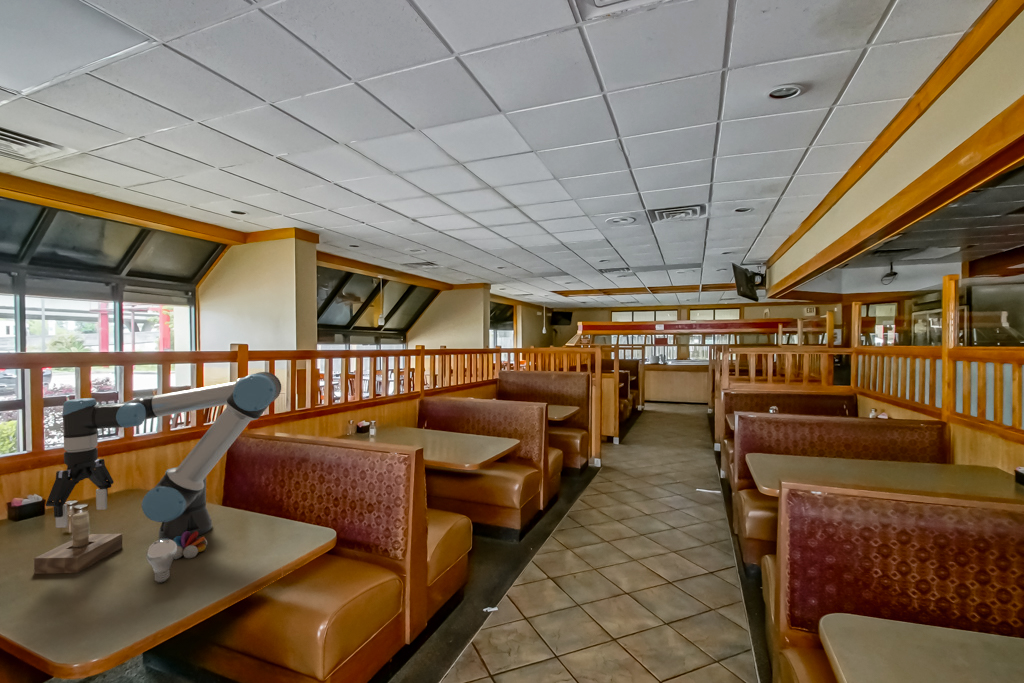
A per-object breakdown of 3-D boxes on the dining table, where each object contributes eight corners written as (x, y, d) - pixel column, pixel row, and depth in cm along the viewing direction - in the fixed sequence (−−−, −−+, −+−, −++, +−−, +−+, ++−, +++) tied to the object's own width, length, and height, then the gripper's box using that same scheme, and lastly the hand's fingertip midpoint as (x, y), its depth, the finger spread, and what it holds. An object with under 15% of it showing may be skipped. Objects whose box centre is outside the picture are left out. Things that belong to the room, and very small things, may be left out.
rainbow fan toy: (197, 560, 139) (197, 536, 139) (163, 562, 138) (163, 538, 138) (211, 547, 148) (211, 525, 148) (179, 549, 146) (179, 527, 146)
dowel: (92, 556, 141) (92, 512, 141) (81, 562, 137) (81, 516, 137) (79, 557, 140) (79, 512, 140) (68, 562, 137) (68, 517, 137)
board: (122, 547, 147) (122, 533, 147) (77, 572, 131) (77, 557, 131) (83, 548, 146) (83, 534, 146) (34, 573, 130) (34, 558, 130)
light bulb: (152, 591, 122) (152, 547, 122) (141, 584, 125) (141, 541, 125) (182, 579, 128) (182, 537, 127) (171, 573, 131) (171, 532, 131)
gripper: (103, 440, 151) (104, 503, 151) (26, 460, 126) (28, 536, 126) (126, 439, 151) (127, 502, 151) (54, 459, 126) (56, 535, 127)
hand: (82, 517), depth 139 cm, fingers open, 13 cm apart
